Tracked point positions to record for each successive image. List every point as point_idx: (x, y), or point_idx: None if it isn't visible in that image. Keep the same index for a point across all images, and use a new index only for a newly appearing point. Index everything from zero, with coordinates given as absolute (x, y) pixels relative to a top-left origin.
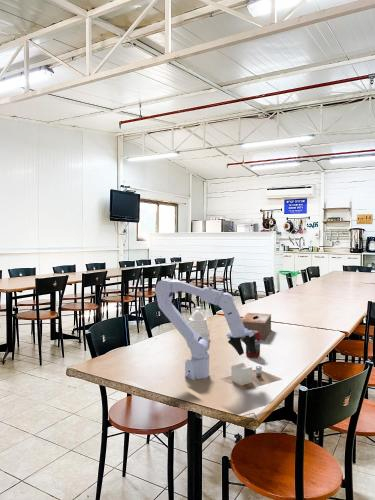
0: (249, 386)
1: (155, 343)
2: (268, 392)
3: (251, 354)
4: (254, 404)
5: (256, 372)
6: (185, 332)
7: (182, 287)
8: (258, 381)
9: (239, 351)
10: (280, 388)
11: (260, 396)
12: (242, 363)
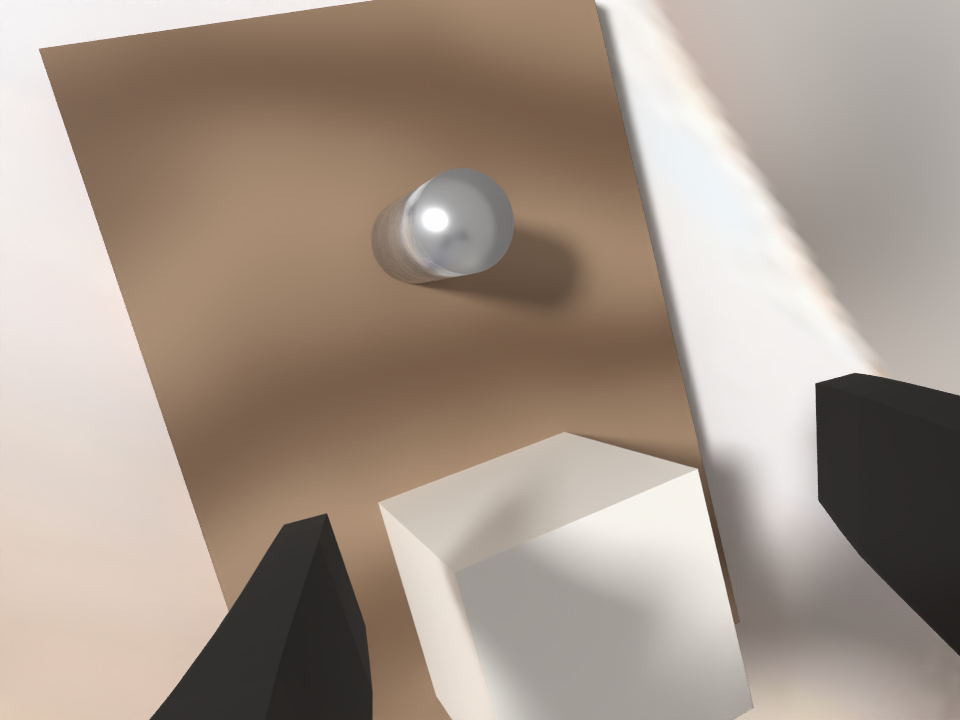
0: None
1: None
2: (737, 323)
3: (830, 510)
4: None
5: (439, 279)
6: None
7: None
8: (566, 336)
9: (360, 695)
10: (691, 131)
11: (789, 453)
12: (482, 581)
